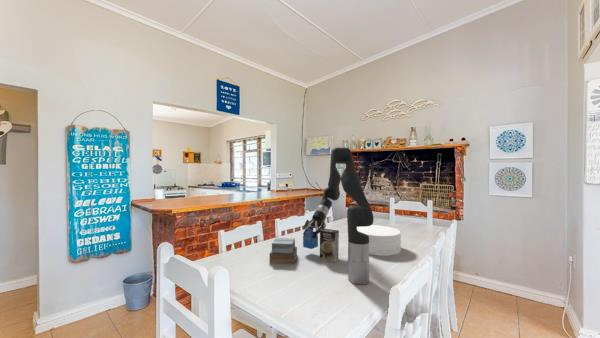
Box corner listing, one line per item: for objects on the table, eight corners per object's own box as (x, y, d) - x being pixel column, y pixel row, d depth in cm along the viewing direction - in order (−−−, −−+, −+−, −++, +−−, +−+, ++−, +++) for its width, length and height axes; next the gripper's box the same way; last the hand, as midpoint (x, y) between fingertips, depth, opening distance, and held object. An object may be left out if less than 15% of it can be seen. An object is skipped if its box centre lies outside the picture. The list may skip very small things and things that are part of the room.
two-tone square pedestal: (293, 263, 132) (293, 244, 132) (269, 262, 133) (269, 243, 133) (296, 255, 145) (296, 238, 145) (274, 254, 146) (274, 237, 146)
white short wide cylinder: (368, 239, 179) (368, 223, 179) (408, 248, 159) (408, 230, 159) (345, 248, 159) (345, 230, 159) (387, 259, 139) (387, 238, 139)
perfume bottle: (309, 244, 152) (309, 224, 152) (317, 246, 148) (317, 226, 148) (303, 247, 147) (303, 226, 147) (311, 249, 143) (311, 228, 143)
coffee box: (319, 260, 138) (319, 230, 138) (323, 256, 143) (323, 228, 143) (335, 262, 133) (335, 232, 133) (339, 259, 139) (339, 229, 139)
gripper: (309, 208, 158) (296, 231, 149) (327, 211, 148) (315, 235, 139) (314, 216, 162) (302, 238, 153) (333, 218, 152) (321, 242, 143)
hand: (308, 236), depth 146 cm, fingers closed on perfume bottle, 6 cm apart
